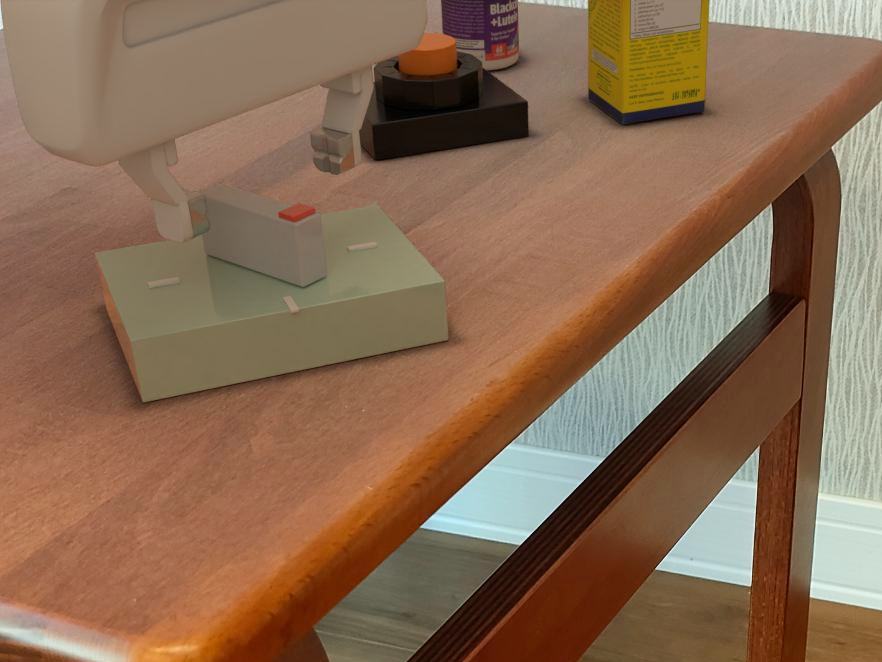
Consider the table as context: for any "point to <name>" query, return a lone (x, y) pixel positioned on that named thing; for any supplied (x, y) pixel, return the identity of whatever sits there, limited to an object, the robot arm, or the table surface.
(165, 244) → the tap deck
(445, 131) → the button block
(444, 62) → the button
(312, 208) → the red-button grey box
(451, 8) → the pill bottle
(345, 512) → the table surface
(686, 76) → the supplement box
